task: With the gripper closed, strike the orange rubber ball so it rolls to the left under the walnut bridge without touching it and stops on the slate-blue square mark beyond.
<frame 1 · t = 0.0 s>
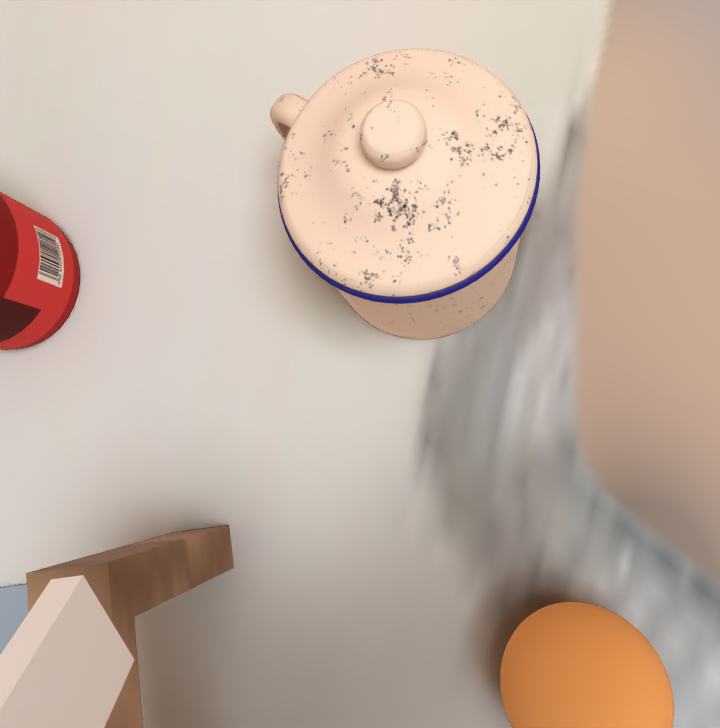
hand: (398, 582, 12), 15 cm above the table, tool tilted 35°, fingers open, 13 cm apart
canned food: (25, 283, 33), on the table
ball: (582, 688, 22), on the table
bridge: (216, 693, 27), on the table
teacup with lid: (401, 237, 29), on the table
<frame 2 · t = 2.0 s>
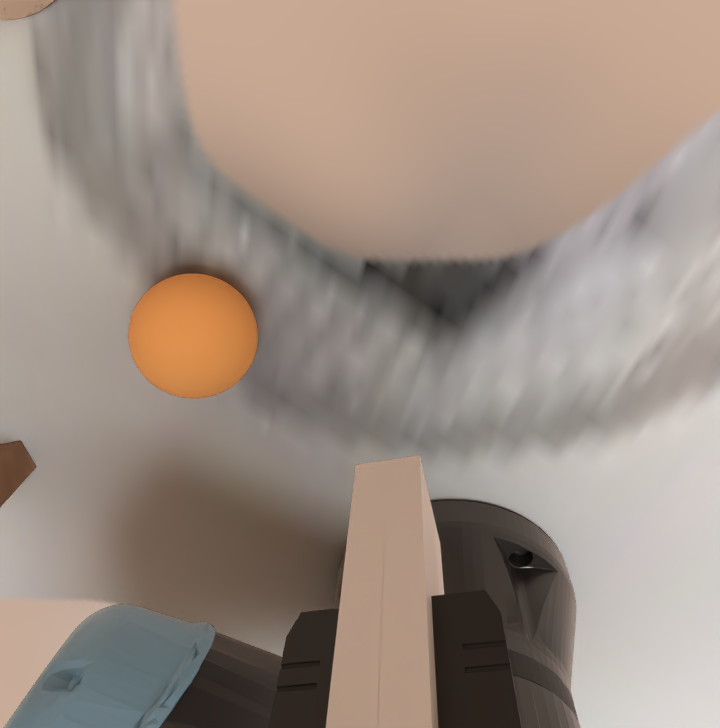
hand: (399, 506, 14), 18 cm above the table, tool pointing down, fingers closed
ball: (195, 336, 28), on the table
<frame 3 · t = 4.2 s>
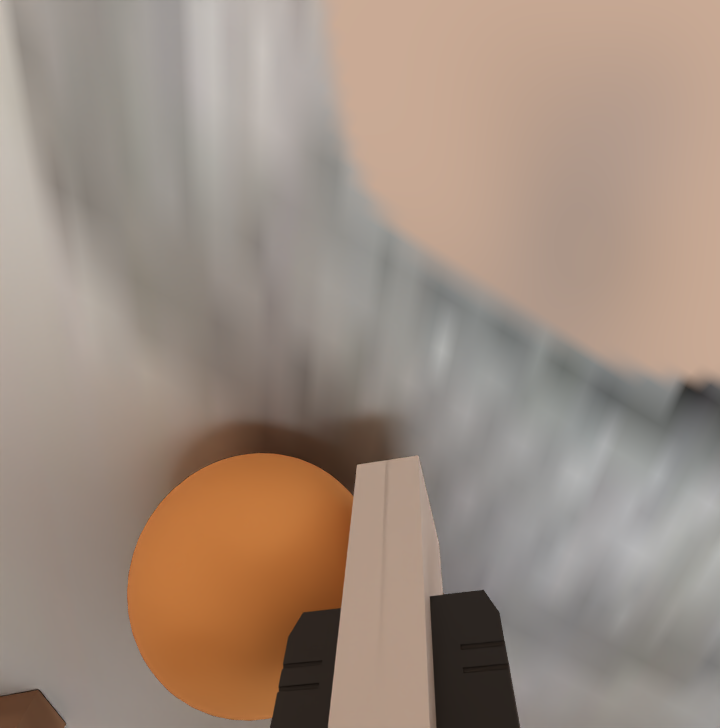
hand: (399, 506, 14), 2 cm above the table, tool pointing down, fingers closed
ball: (259, 577, 14), on the table, touching gripper
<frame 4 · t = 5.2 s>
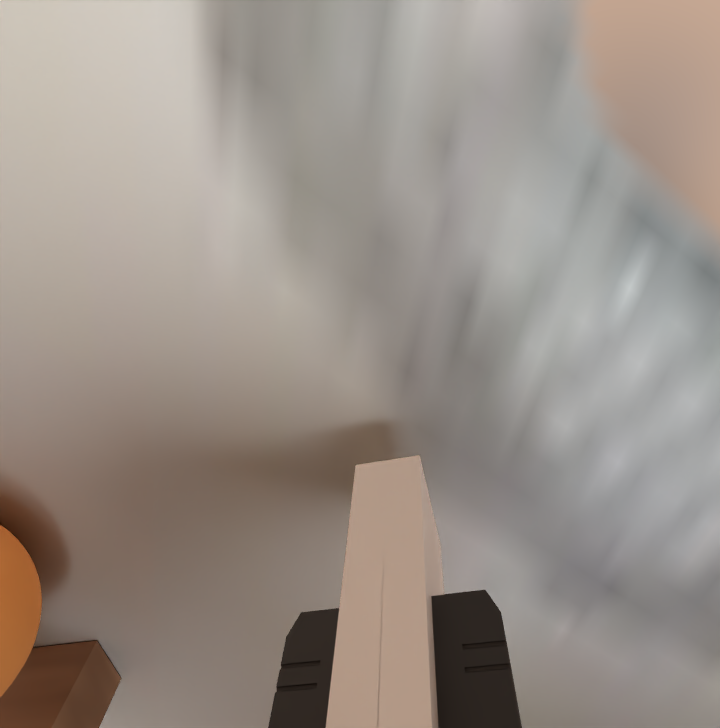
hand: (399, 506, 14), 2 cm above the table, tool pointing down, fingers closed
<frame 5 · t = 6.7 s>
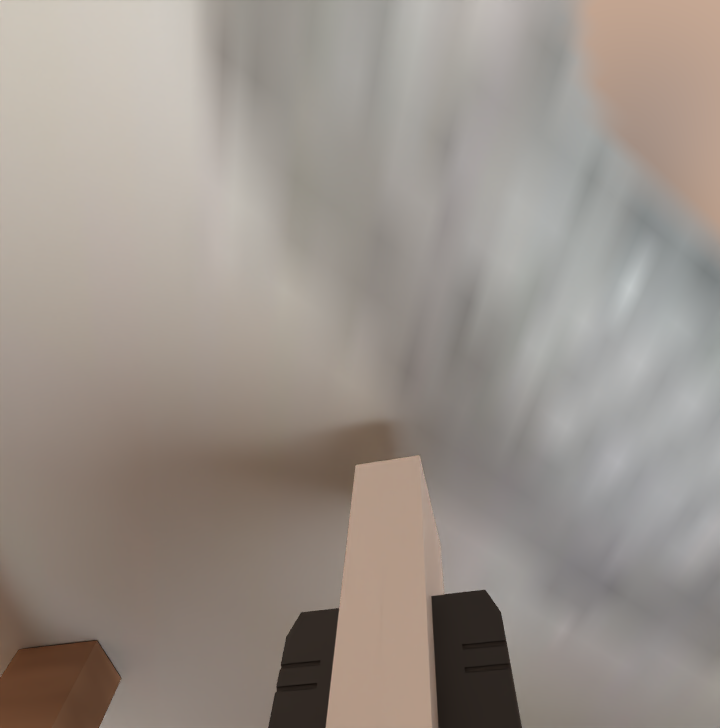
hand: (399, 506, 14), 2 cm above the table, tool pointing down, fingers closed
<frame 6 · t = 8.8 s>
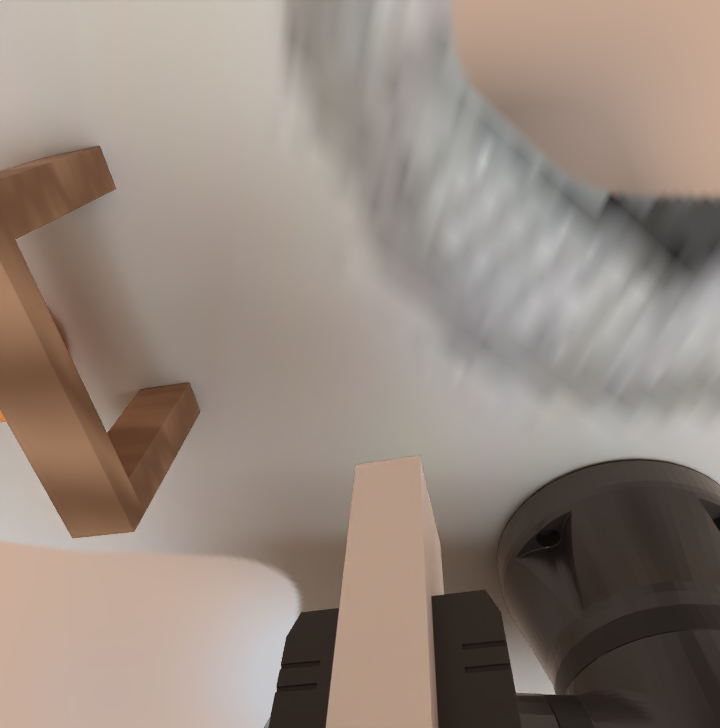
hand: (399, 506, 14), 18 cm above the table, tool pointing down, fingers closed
bridge: (129, 297, 31), on the table
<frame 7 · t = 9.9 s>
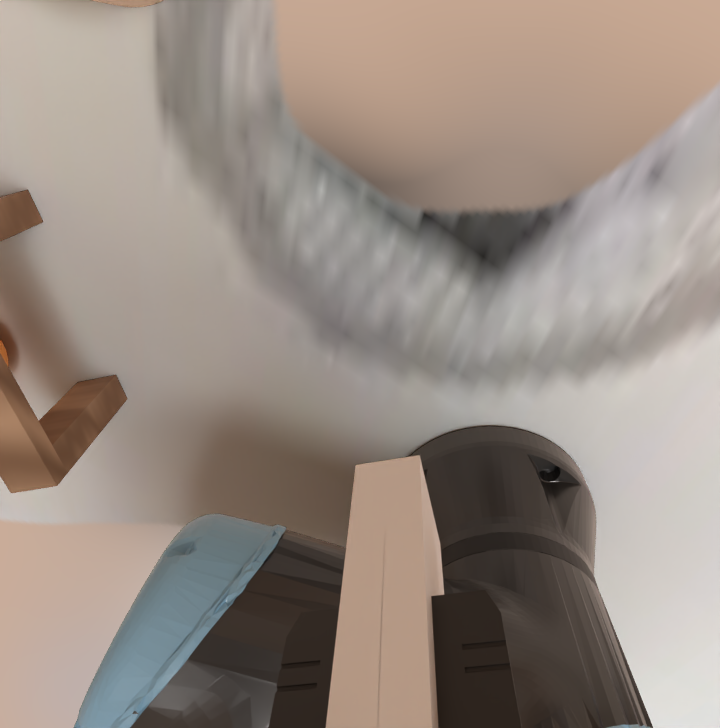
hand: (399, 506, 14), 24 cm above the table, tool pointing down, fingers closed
bridge: (61, 307, 39), on the table
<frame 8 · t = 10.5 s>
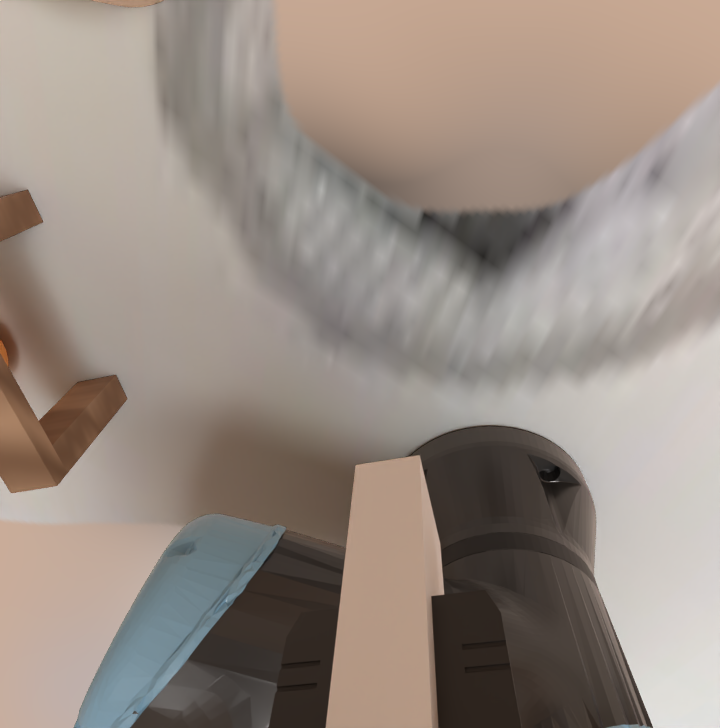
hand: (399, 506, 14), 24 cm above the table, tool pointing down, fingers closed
bridge: (61, 307, 39), on the table
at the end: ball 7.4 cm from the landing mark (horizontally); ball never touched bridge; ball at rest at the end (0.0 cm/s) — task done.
